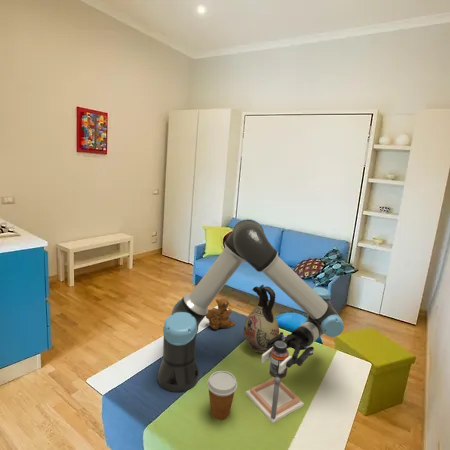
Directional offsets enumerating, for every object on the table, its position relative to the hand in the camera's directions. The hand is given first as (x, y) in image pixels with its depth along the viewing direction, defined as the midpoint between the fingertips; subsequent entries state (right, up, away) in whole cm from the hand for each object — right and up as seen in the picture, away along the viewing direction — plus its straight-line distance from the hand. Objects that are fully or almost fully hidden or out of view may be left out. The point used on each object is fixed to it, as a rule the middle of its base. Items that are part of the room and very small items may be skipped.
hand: (271, 363), depth 99 cm
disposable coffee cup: (-16, -16, +1) cm, 23 cm away
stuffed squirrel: (-18, -5, +52) cm, 55 cm away
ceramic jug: (+1, -10, +36) cm, 37 cm away
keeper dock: (+2, -16, +8) cm, 18 cm away
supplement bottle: (+3, -6, +5) cm, 8 cm away
